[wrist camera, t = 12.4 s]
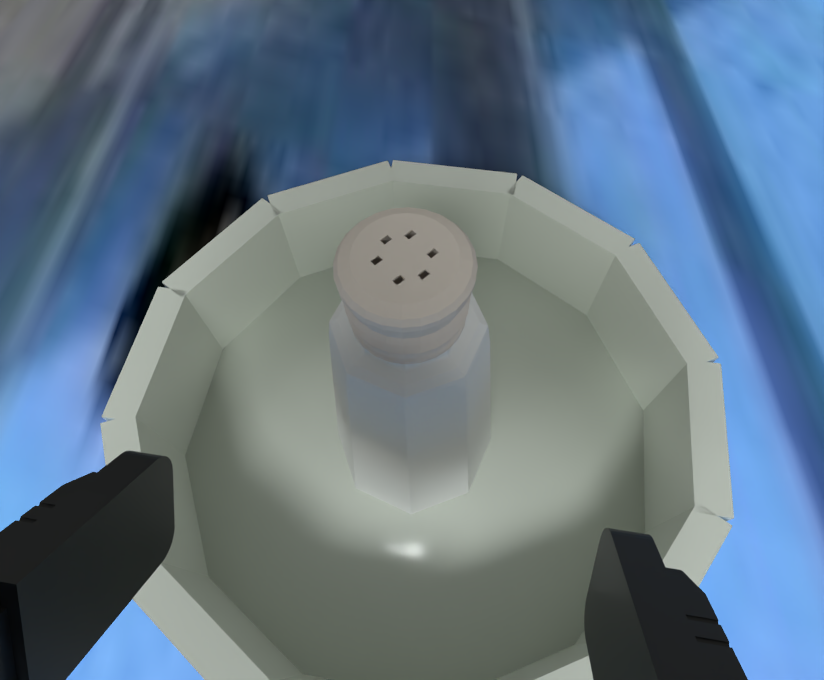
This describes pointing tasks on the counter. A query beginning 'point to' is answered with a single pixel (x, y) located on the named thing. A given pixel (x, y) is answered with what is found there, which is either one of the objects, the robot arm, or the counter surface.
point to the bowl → (448, 521)
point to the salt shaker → (410, 358)
